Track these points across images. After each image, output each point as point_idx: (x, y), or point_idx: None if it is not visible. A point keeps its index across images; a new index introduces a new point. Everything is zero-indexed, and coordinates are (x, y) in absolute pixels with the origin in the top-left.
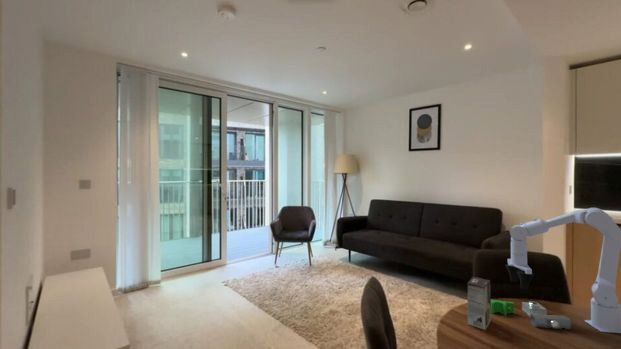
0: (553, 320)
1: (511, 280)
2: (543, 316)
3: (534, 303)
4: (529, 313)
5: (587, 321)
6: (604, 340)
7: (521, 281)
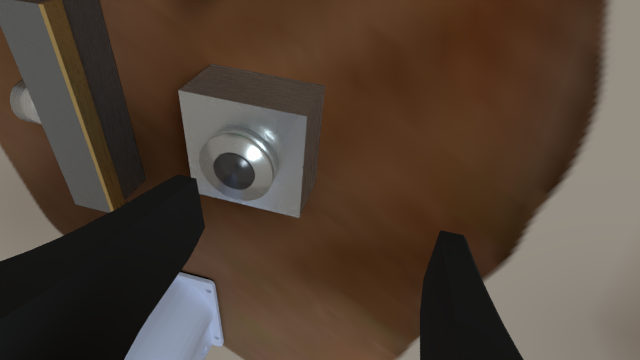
0: (31, 111)
1: (451, 242)
2: (45, 83)
3: (220, 166)
4: (212, 73)
5: (197, 283)
6: (59, 215)
7: (73, 232)
